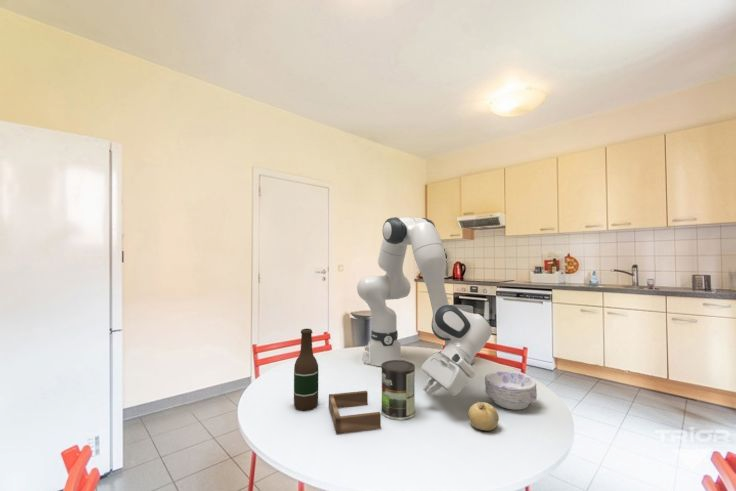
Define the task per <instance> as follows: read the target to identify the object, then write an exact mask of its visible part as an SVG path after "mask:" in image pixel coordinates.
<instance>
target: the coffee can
mask: <svg viewBox="0 0 736 491" xmlns="http://www.w3.org/2000/svg"><path fill="white" fill-rule="evenodd" d="M380 367H381V368H380V369H381V410H380V413H381V415H383V416H384V417H385V418H388V419H389V420H390V419H391V420H397V421H404V420H409V419H411V418H413V417H414V416H415V414H416V411H415V410H416V406H415V405H416V404H415V402H416V401H415V400H416V399H415V397H416V396H415V395H416V394H415V393H416V392H415V389H416V388H415V387H416V385H415V382H416V380H415V379H416V378H415V371H416V370H415V369H416V365H415V364H414V363H413V362H410V361H406V360H404V361H402V360H391V361H386V362H384V363H382V364H381V366H380Z"/></svg>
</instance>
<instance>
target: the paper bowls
mask: <svg viewBox="0 0 736 491" xmlns="http://www.w3.org/2000/svg"><path fill="white" fill-rule="evenodd" d="M484 385H485V386H484V387H485V388H484V391H485V394H486V395H487V396H488V397H489V398H491V399H492V400H493V402H494V404H496V405H498V406H499V407H501V408H504V409H508V410H512V411H513V410H514V411H517V410H524V409H526V408H528V407H529V405H530V404H531V403H534V402H536V400H537V398H538V397H537V396H538V395H537V394H538V393H537V383H536V381H535V379H533V378H532V377H530V376H528V375H525V374H521V373H518V372H513V371H505V370H503V371H493V372H489V373H487V374H485V377H484Z"/></svg>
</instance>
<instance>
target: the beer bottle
mask: <svg viewBox="0 0 736 491" xmlns="http://www.w3.org/2000/svg"><path fill="white" fill-rule="evenodd" d="M300 334H301V335H300V336H301V339H300V350H299V355H298V356H297V358H296V360H295V362H294V366H293V367H294V368H293V405H294V408H295V410H297V411H302V412H306V411H311V410H315V408H317V407H318V406H319V363H318V360H317V358H316V357H315V356H314V351H313V336H312V334H313V329H311V328H302V329H300Z"/></svg>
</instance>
